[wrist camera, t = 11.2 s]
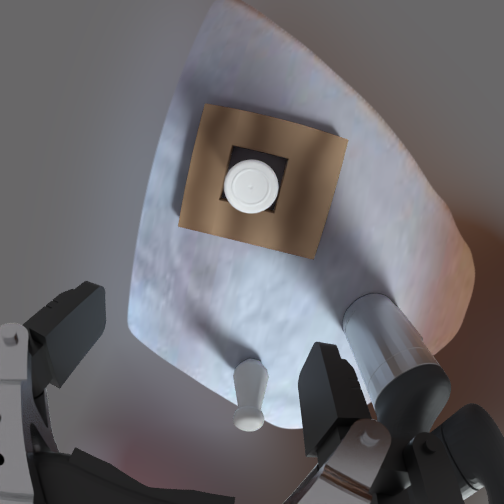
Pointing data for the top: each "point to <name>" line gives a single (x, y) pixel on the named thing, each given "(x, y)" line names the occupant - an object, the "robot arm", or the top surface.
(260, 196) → the sprinkles bottle
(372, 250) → the top surface
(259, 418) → the salt shaker
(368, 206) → the top surface
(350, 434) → the robot arm
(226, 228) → the holder board
